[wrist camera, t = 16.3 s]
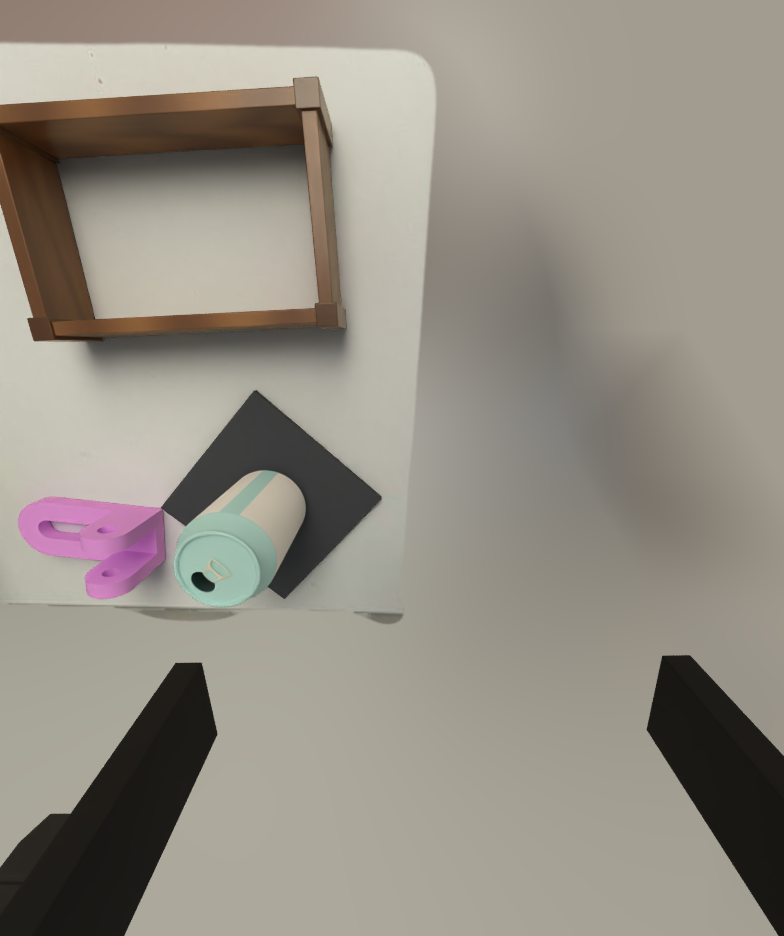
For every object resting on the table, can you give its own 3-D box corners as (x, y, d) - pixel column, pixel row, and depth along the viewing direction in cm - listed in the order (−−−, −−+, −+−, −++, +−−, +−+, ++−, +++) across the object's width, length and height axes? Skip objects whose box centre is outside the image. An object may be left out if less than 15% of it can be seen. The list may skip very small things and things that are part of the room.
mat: (256, 389, 35) (253, 390, 35) (381, 496, 38) (381, 498, 38) (163, 505, 39) (160, 507, 38) (285, 595, 41) (284, 599, 41)
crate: (331, 121, 30) (318, 76, 25) (346, 329, 34) (338, 325, 29) (33, 139, 30) (-38, 98, 25) (85, 342, 34) (33, 341, 29)
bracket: (162, 508, 39) (114, 542, 32) (165, 559, 40) (120, 601, 34) (27, 493, 38) (-51, 524, 32) (35, 545, 40) (-37, 584, 33)
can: (302, 542, 39) (263, 624, 28) (230, 529, 39) (160, 606, 27) (312, 476, 37) (275, 534, 26) (236, 461, 37) (164, 513, 25)
